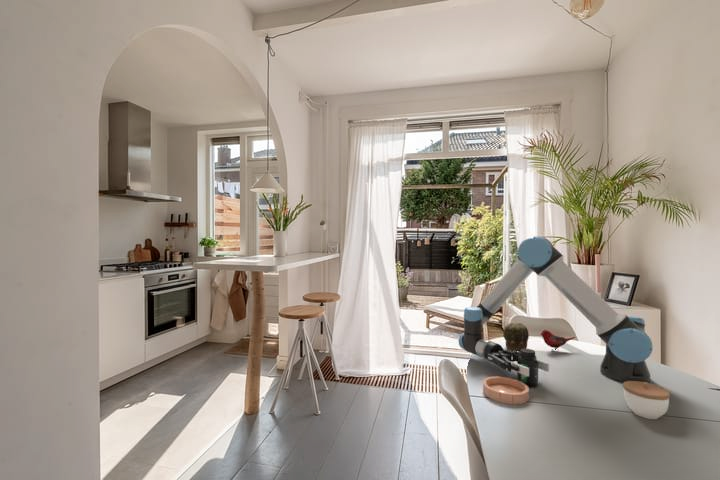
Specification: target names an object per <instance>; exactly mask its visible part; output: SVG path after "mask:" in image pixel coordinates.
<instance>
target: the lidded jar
mask: <svg viewBox="0 0 720 480" xmlns="http://www.w3.org/2000/svg"><path fill="white" fill-rule="evenodd" d="M622 387H623V398H624V400H625V403H626V405H627V407H628V408H630V410H631V411H632V412H633V413H634V414H635V415H636V416H638V417H640V418H645V419H649V420H658V419H659V418H660V417H663V416H664V415H665V414H666V413H667V411H668V409H669V406H670V395H671V393H670V392H669V391H668V390H667V389H666V388H663V387H661V386H659V385H657V384H653V383H650V382H649V383H647V382H640V381H626V382H623V383H622Z"/></svg>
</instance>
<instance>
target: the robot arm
mask: <svg viewBox="0 0 720 480" xmlns="http://www.w3.org/2000/svg"><path fill="white" fill-rule="evenodd" d="M517 254H518V255H517V256H516V261H515V263H513V265H512V266H511V267H510V268H509V270H508V271H507V272H506V273H505V274H504V275H503V276H502V278H500V279H499V281H498V282H497V283H496V284H495V285H494V287H492V289H491V290H490V291H489V292H488V294H486V296H485V297H484V298H483V300H481V302H480V303H479V304H478V305H476V306H466V307H465V308H464V313H463V333H461V334H460V336H459V337H458V338H459V339H458V345H459V347H460V348H461V349H463V350H464V351H466V352H467V353H470V354H472V355H475V356H477V357H479V358H482V359H483V360H486V361H488V362H490V363H493V365H495V366H497V367H499V368H500V369H502V370H504V371H506V370H507V372H510V373H511V372H512V371H514V372H516V373H517V372H518V373H521V374H523V375H525V376H529V368H527V367H525V366H522V365H520V364H517V359H518V357H520V356H521V355H520V352H517V351H515V350H508V349H504V348H503V346H502V345H501V344H499V343H498V342H494V341H492V340H489V339H486V338H483V325H485V324H486V323H487V322H489V321H490V320H491V318H492V317H493V316H494V314H495V313H496V312H497V311H498V310H499V309H500V308H501V307H502V305H504V304H505V303H506V301H507V300H508V299H509V298H510V297H511V296H512V295H513V294H514V293H515V292H516V290H517V289H518V288H519V287H520V286H521V285H522V284H523V283H524V282H525V280H527V278H528V277H529V276H530V275H531V274H532V273H535V274H536V275H537V276H539V277H545V279H547V280H548V281H549V283H550V284H552V285H553V286H554V287H555V288H556V289H557V290H558V291H559V292H560V293H561V295H562V296H564V297H565V298H566V299H567V300H568V301H569V302H570V303H571V304H572V305H573V306H574V307H575V308H576V309H577V311H579V312H580V313H581V314H582V315H583V316H584V317H585V318H586V319H587V320H588V321H589V322H590V323H591V324H592V325H593V326H594V327H595V334H596V336H598V337H599V338H600V340H601V341H603V342H604V343H605V354H604V357H603V359H602V361H601V363H600V368H599V369H600V370H599V372H600V373H601V374H602V375H603V376H605V377H607V378H609V379H611V380H615V381H619V382H621V383H622V382H623V383H624V382H626V381H640V382H647V383H650V382H651V373H650V370H649V367H648V365H647V362H646V360H647V359H649V357H651V355H652V352H653V350H654V349H653V347H654V346H653V342H652V339H651V337H649V335H648V334H647V333H646V330H645V328H646V324H645V322H646V321H645V319H644V318H643V317H639V316H633V315H626V313H620V312H617V311H616V310H615V309H614V308H612V307H611V305H610V304H608V303H607V302H606V301H605V299H603V298H602V297H601V296H600V295H599V294H598V293H597V292H596V291H595V290H594V289H593V288H592V287H590V286H589V284H587V283H586V281H584V280H583V279H582V278H581V277H580V276H579V275H578V274H577V273H576V272H575V271H574V270H573V269H572V268H570V266H568V265H567V263H565V262H564V255H563V254H562V253H561V252H560V251H559V250H558V249H557V248H556V247H555V246H554V244H553V243H552V242H551V241H550V240H549V239H547V238H546V237H544V236H540V235H539V236H538V235H531V236H528V237H526V238H525V239H523V240H522V241H521V242H520V244H519V246H518V248H517ZM535 358H536V359H537V356H536V355H535ZM537 360H538V370H542V371H544V372H548V373H549V372H550V363H548V362H546V361H542V360H540V359H537Z"/></svg>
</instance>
